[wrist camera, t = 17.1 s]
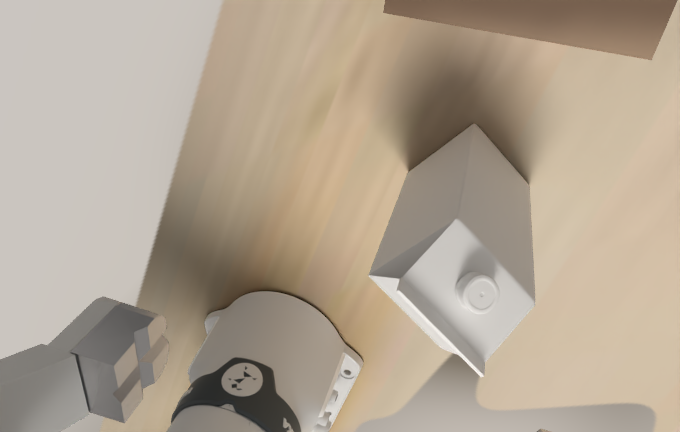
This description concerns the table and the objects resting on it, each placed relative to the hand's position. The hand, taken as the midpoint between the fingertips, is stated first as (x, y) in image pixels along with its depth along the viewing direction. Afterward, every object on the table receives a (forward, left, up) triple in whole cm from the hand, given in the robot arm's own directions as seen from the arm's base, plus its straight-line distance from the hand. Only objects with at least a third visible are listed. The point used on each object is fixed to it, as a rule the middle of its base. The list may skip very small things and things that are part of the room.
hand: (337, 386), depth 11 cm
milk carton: (-11, -3, -33) cm, 35 cm away
